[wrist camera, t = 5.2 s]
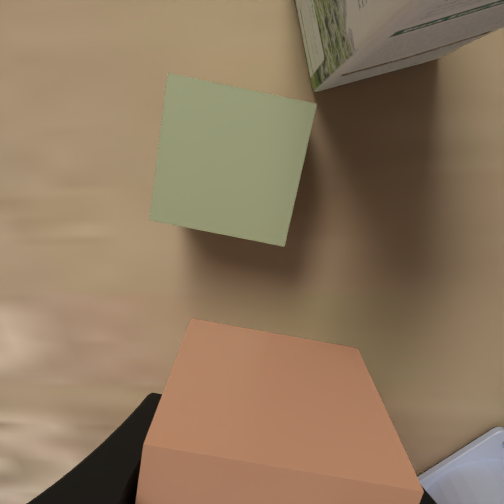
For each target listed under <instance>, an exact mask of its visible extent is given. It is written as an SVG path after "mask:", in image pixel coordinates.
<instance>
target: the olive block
mask: <svg viewBox="0 0 504 504" xmlns="http://www.w3.org/2000/svg"><path fill="white" fill-rule="evenodd" d="M316 106H317V104H316V103H311V102H306V101H301V100H296V99H292V98H287V97H282V96H277V95H272V94H267V93H263V92H258V91H253V90H248V89H243V88H239V87H234V86H229V85H224V84H219V83H214V82H210V81H205V80H200V79H195V78H190V77H186V76H181V75H176V74H171V73H168V76H167V84H166V91H165V99H164V107H163V115H162V123H161V131H160V139H159V147H158V155H157V162H156V170H155V178H154V186H153V194H152V202H151V210H150V218H149V220H151V221H156V222H161V223H167V224H172V225H177V226H182V227H187V228H192V229H197V230H202V231H207V232H212V233H217V234H222V235H227V236H232V237H237V238H242V239H248V240H253V241H258V242H263V243H268V244H273V245H278V246H283V247H285V243H286V238H287V234H288V229H289V225H290V221H291V216H292V212H293V207H294V203H295V199H296V194H297V190H298V185H299V181H300V177H301V172H302V168H303V163H304V159H305V155H306V150H307V146H308V141H309V137H310V133H311V128H312V124H313V119H314V115H315V111H316Z"/></svg>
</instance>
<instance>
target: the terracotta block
mask: <svg viewBox="0 0 504 504" xmlns="http://www.w3.org/2000/svg"><path fill="white" fill-rule="evenodd" d="M423 493H424V491H423V488H422V486H421V484H420V482H419V480H418V478H417V475H416V473H415V471H414V469H413V467H412V465H411V463H410V460H409V458H408V456H407V454H406V452H405V450H404V447H403V445H402V443H401V441H400V439H399V437H398V434H397V432H396V430H395V428H394V426H393V424H392V421H391V419H390V417H389V415H388V413H387V411H386V409H385V406H384V404H383V402H382V400H381V398H380V396H379V393H378V391H377V389H376V387H375V385H374V383H373V380H372V378H371V376H370V374H369V372H368V370H367V367H366V365H365V363H364V361H363V359H362V357H361V354H360V352H359V350H358V348H353V347H348V346H342V345H337V344H331V343H326V342H320V341H314V340H309V339H303V338H298V337H292V336H287V335H281V334H275V333H270V332H264V331H259V330H253V329H247V328H242V327H236V326H231V325H225V324H220V323H214V322H208V321H203V320H197V319H192V318H191V320H190V323H189V325H188V328H187V330H186V333H185V336H184V338H183V341H182V344H181V346H180V349H179V352H178V354H177V357H176V359H175V362H174V365H173V367H172V370H171V373H170V375H169V378H168V381H167V383H166V386H165V389H164V391H163V394H162V396H161V399H160V402H159V404H158V407H157V410H156V412H155V415H154V418H153V420H152V423H151V426H150V428H149V431H148V433H147V436H146V439H145V441H144V444H143V451H142V458H141V465H140V473H139V480H138V487H137V495H136V502H135V504H419V503H420V500H421V498H422V495H423Z"/></svg>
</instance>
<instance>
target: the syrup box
mask: <svg viewBox="0 0 504 504" xmlns="http://www.w3.org/2000/svg"><path fill="white" fill-rule="evenodd" d="M295 4H296V9H297V14H298V18H299V23H300V28H301V34H302V39H303V44H304V49H305V54H306V59H307V64H308V69H309V75H310V80H311V86H312V90H313V91H315V92H318V91H322V90H325V89H329V88H333V87H337V86H340V85H344V84H348V83H351V82H355V81H359V80H362V79H366V78H370V77H373V76H377V75H381V74H384V73H388V72H392V71H396V70H399V69H403V68H407V67H411V66H414V65H418V64H422V63H425V62H428V61H432V60H435V59H438V58H441V57H443V56H445V55H447V54H449V53H451V52H453V51H455V50H457V49H459V48H461V47H462V46H464V45H466V44H468V43H470V42H472V41H474V40H477V39H479V38H481V37H483V36H485V35H487V34H489V33H491V32H494V31H496V30H498V29H500V28H503V27H504V0H295Z"/></svg>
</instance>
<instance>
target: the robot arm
mask: <svg viewBox="0 0 504 504" xmlns="http://www.w3.org/2000/svg"><path fill="white" fill-rule="evenodd" d="M161 396H162V394H157V393H151V394H149V395H148V396H147V397H146V398H145V399H144V400H143V402H142V403H141V404H140V405H139V406H138V407H137V409H136V410H135V411H134V412H133V413H132V414H131V415H130V416H129V417H128V418H127V419H126V420H125V421H124V422H123V423H122V425H121V426H119V427H118V428H117V429H116V430H115V431H114V432H113V433H112V434H111V435H110V436H109V437H108V438H107V439H106V440H105V441H104V442H103V443H102V444H101V445H100V446H99V447H98V448H96V449H95V450H94V451H93V452H92V453H91V454H90V455H88V456H87V457H86V458H85V459H84V460H83V461H82V462H80V463H79V464H78V465H77V466H76V467H75V468H73V469H72V470H71V471H70V472H69V473H67V474H66V475H65V476H64V477H62V478H61V479H60V480H58V481H57V482H56V483H55V484H53V485H52V486H51V487H49V488H48V489H47V490H45V491H44V492H43V493H41V494H40V495H38V496H37V497H36V498H34V499H33V500H31V501H30V502H28V503H27V504H135V502H136V495H137V487H138V480H139V473H140V465H141V458H142V451H143V444H144V441H145V439H146V436H147V433H148V431H149V428H150V426H151V423H152V420H153V418H154V415H155V412H156V410H157V407H158V404H159V402H160V399H161ZM503 442H504V428H503V427H495V428H493V429H491V430H490V431H488V432H487V433H485V434H484V435H482V436H480V437H479V438H477V439H476V440H474V441H473V442H471V443H470V444H468V445H466V446H465V447H463V448H462V449H460V450H459V451H457V452H455V453H454V454H452V455H451V456H449V457H448V458H446V459H445V460H443V461H441V462H440V463H438V464H437V465H435V466H434V467H432V468H431V469H429V470H427V471H426V472H424V473H423V474H421V475H420V476H418V477H417V478H418V480H419V482H420V484H421V486H422V488H423V491H424V493H423V495H422V498H421V500H420V503H419V504H504V443H503Z"/></svg>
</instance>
